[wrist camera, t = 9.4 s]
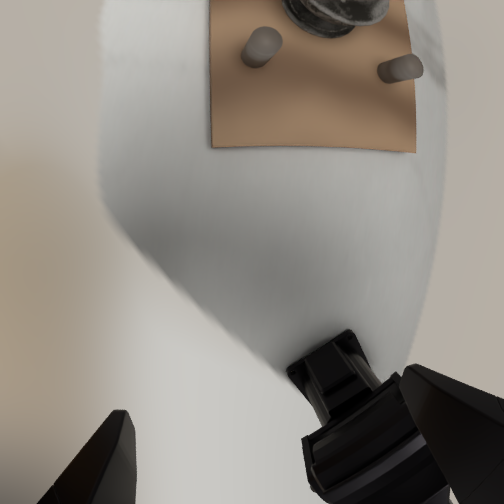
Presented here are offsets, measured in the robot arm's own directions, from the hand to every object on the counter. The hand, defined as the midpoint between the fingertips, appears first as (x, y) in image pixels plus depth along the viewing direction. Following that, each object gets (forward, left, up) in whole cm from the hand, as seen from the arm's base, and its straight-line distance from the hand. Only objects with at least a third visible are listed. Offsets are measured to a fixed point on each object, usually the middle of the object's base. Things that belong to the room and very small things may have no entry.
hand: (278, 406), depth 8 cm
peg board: (+12, -14, -13) cm, 22 cm away
